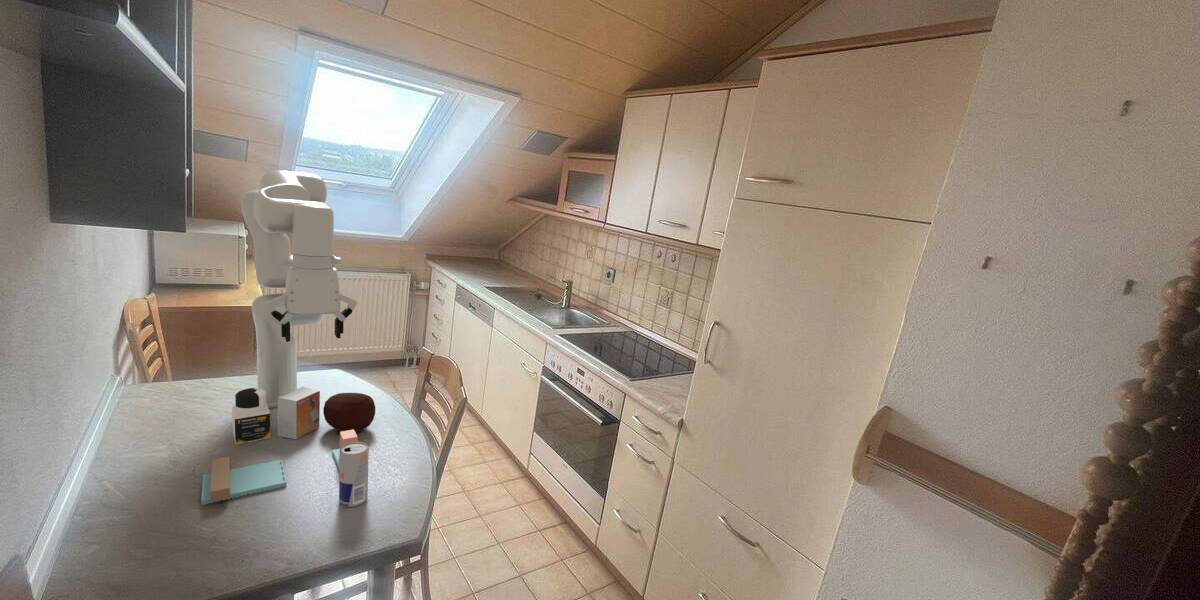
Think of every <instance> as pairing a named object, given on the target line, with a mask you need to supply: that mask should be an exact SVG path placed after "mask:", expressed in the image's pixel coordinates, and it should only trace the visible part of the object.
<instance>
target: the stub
mask: <svg viewBox="0 0 1200 600" xmlns="http://www.w3.org/2000/svg"><path fill="white" fill-rule="evenodd" d="M352 442H358V435H357V432H355V431H354V429H353V430H347V431H339V448H336V449H332V456H333V458H334V461H335V464H336V466H337V469H338V470H339V466H340V451H341V448H342V447H343V446H344V445H346V444H348V443H352Z"/></svg>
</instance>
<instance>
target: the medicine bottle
mask: <svg viewBox="0 0 1200 600" xmlns="http://www.w3.org/2000/svg"><path fill="white" fill-rule="evenodd" d="M234 400H235V406H232V407H231V421H232V423H231V424H232V425H231V426H232V436H233V439H234V444H235V445H236V444H237V445H241V443H242V444H246V442H248V443H252V442H251V441H253V442H257V440H258V441H262V439H263V440H267V438H268V439H271V437H272V434H271V430H272V429H271V427H272V425H271V424H272V423H271V411H270V408H268V406H267V403H266V392H265V391H264V390H263V389H259V388H258V387H249V388H244V389H242V390H240V391H237V392H236V394H235V395H234Z"/></svg>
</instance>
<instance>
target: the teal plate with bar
mask: <svg viewBox="0 0 1200 600" xmlns="http://www.w3.org/2000/svg"><path fill="white" fill-rule="evenodd" d="M210 467H211V468H210V473H206V474H203V475H202V483H201V496H200V497H201V499H200V500H201V502H200V503H201V506H205V505H209V503H210V504H212V503H213V502H214V503H218V502H221V500H223V501H227V500H231V499H230V498H232V499H235V498H234V497H236V498H240V497H239V496H241V497H244V496H243V495H245V496H248V495H247V494H250V495H253V493H254V494H258V493H257V492H259V493H263V492H267V491H266V490H268V491H271V490H276V488H277V489H280V488H284V487H285V486H286V487H287V480H286V475H285V470H284V465H283V460H282V459H280V460H273V461H269V462H263V463H258V464H253V465H247V466H243V467H237V468H231V469H230V467H231V465H230V456H225V457H220V458H215V459H211V466H210ZM262 491H263V492H262ZM226 499H227V500H226Z"/></svg>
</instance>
